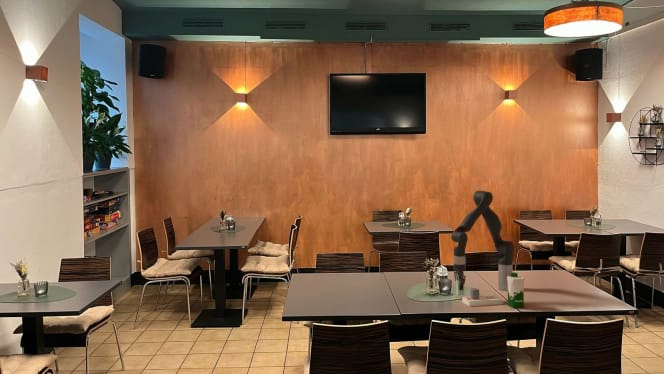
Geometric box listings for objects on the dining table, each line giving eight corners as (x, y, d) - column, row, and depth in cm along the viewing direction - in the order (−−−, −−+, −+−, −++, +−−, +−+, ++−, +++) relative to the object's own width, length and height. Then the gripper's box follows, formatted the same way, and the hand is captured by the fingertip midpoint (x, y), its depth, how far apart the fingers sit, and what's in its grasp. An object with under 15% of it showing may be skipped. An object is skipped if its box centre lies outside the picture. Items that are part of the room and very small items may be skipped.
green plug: (461, 293, 363) (461, 279, 362) (464, 294, 359) (464, 280, 358) (455, 293, 362) (455, 279, 361) (458, 295, 358) (458, 281, 357)
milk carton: (518, 304, 346) (518, 271, 345) (526, 308, 337) (526, 275, 336) (505, 305, 344) (505, 272, 343) (513, 309, 336) (513, 275, 334)
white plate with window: (495, 299, 357) (495, 285, 357) (503, 304, 346) (503, 289, 346) (462, 301, 354) (462, 287, 353) (469, 306, 343) (469, 291, 342)
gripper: (469, 264, 353) (469, 291, 354) (460, 260, 367) (461, 286, 368) (458, 265, 351) (458, 292, 353) (449, 261, 365) (450, 287, 367)
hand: (459, 289), depth 360 cm, fingers closed on green plug, 4 cm apart
